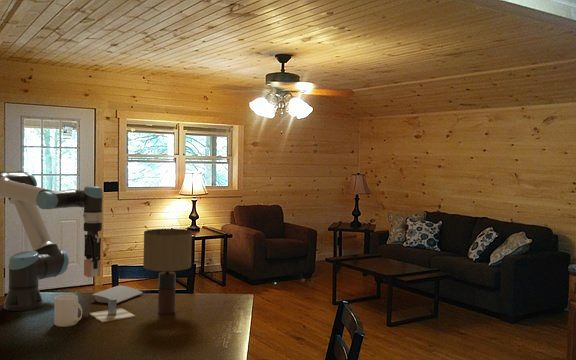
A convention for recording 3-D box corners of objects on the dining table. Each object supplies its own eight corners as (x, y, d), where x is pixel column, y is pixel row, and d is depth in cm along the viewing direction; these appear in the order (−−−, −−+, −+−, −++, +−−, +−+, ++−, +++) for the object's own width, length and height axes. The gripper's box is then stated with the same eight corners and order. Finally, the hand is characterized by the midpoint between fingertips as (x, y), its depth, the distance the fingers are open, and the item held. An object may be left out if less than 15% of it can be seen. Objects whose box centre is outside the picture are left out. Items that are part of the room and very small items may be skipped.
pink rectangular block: (83, 275, 236) (84, 259, 235) (95, 273, 239) (96, 258, 239) (88, 277, 232) (88, 261, 231) (100, 275, 235) (100, 260, 235)
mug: (73, 329, 206) (74, 301, 206) (49, 325, 210) (49, 298, 210) (89, 323, 214) (89, 296, 214) (65, 319, 218) (66, 293, 218)
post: (107, 315, 226) (108, 298, 225) (113, 314, 227) (114, 298, 227) (110, 317, 224) (110, 300, 223) (116, 316, 225) (116, 299, 225)
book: (86, 303, 245) (86, 294, 245) (117, 292, 267) (117, 284, 267) (114, 307, 240) (114, 298, 240) (144, 295, 262) (144, 287, 262)
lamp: (132, 314, 227) (134, 232, 226) (160, 303, 246) (162, 227, 245) (172, 321, 220) (174, 236, 219) (198, 309, 239) (200, 230, 237)
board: (89, 314, 226) (89, 313, 226) (121, 309, 235) (121, 307, 235) (101, 322, 215) (101, 321, 215) (135, 317, 224) (135, 315, 224)
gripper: (76, 220, 239) (76, 272, 240) (91, 224, 225) (90, 279, 226) (93, 219, 244) (92, 270, 245) (109, 223, 230) (108, 277, 231)
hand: (91, 274), depth 235 cm, fingers closed on pink rectangular block, 5 cm apart
